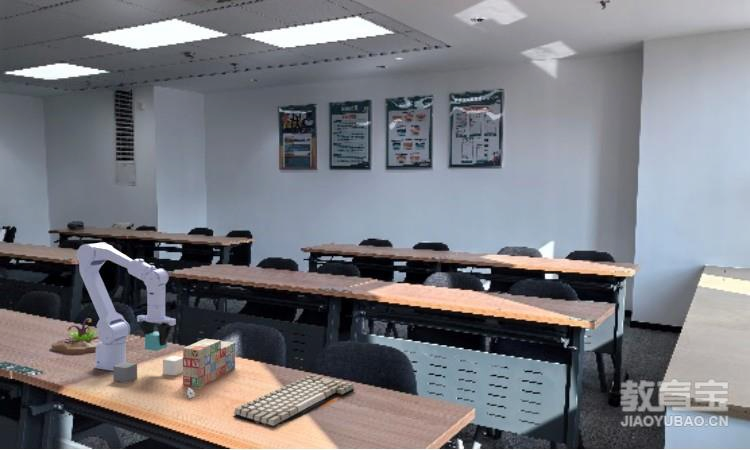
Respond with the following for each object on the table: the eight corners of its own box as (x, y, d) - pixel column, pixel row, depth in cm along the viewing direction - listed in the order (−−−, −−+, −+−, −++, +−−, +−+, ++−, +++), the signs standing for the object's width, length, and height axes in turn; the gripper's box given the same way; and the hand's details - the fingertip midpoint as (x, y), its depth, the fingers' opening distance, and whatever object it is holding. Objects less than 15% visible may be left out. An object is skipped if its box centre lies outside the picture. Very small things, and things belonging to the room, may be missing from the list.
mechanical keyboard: (281, 434, 148) (281, 421, 148) (227, 418, 157) (227, 406, 157) (357, 392, 180) (357, 382, 180) (308, 381, 190) (308, 371, 190)
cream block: (162, 374, 192) (162, 359, 191) (172, 369, 196) (172, 355, 196) (175, 375, 190) (175, 361, 190) (184, 371, 195) (184, 357, 194)
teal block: (145, 349, 192) (145, 334, 192) (155, 345, 197) (155, 331, 197) (157, 350, 191) (157, 336, 190) (167, 347, 195) (167, 332, 195)
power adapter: (185, 397, 171) (185, 387, 171) (193, 395, 173) (193, 385, 173) (189, 400, 169) (189, 390, 169) (197, 398, 171) (197, 388, 170)
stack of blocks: (220, 366, 202) (220, 332, 201) (235, 368, 200) (235, 333, 199) (182, 385, 181) (182, 347, 181) (199, 387, 179) (199, 349, 179)
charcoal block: (113, 381, 183) (113, 366, 183) (124, 376, 188) (124, 361, 188) (126, 383, 182) (125, 368, 181) (137, 378, 186) (137, 363, 186)
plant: (122, 345, 226) (122, 317, 225) (77, 357, 209) (77, 327, 208) (90, 338, 235) (90, 312, 235) (44, 349, 218) (44, 320, 218)
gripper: (130, 304, 191) (130, 344, 192) (166, 308, 187) (165, 349, 188) (145, 301, 198) (145, 339, 199) (179, 304, 194) (179, 344, 194)
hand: (156, 344), depth 194 cm, fingers closed on teal block, 5 cm apart
